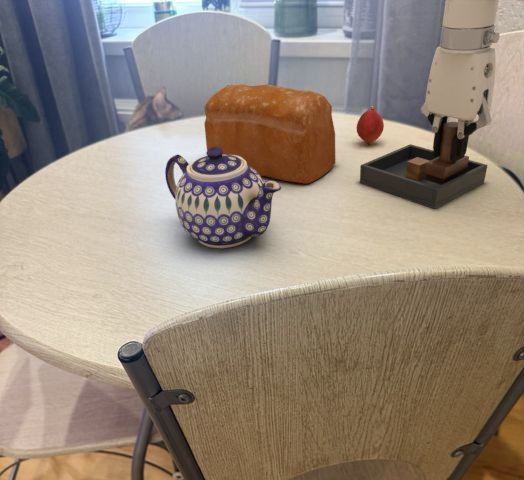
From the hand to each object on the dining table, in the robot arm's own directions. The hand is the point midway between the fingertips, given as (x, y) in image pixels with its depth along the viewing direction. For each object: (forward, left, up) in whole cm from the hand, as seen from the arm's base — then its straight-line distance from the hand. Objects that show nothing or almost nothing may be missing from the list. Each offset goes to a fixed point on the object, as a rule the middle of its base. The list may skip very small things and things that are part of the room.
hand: (448, 156), depth 94 cm
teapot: (+16, +38, -7) cm, 42 cm away
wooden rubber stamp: (0, 0, -4) cm, 4 cm away
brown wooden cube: (+6, 0, -5) cm, 8 cm away
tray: (+5, 0, -6) cm, 8 cm away
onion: (+27, -10, -7) cm, 30 cm away
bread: (+34, +13, -7) cm, 37 cm away
